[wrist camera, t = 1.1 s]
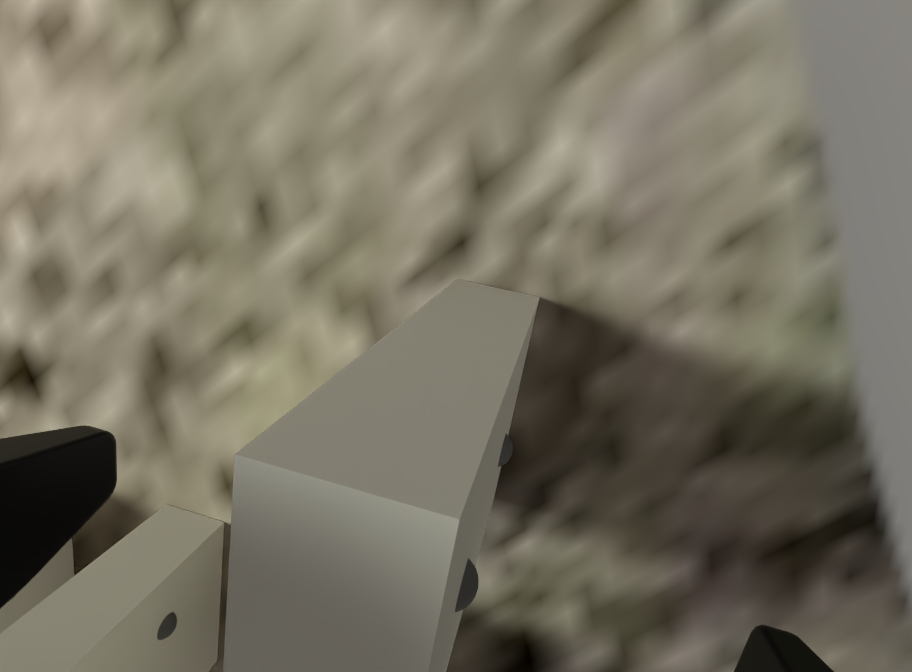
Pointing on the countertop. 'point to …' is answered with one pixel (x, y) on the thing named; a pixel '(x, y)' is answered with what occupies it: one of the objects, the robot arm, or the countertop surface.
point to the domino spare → (378, 496)
